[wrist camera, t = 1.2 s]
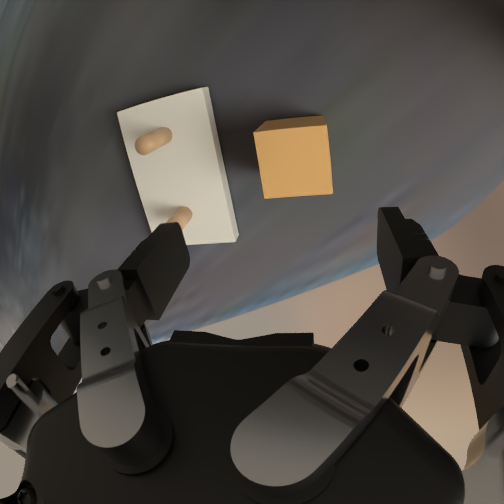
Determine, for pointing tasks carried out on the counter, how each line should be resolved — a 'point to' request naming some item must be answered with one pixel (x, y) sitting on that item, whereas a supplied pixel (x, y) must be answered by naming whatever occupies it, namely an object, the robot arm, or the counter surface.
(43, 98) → the counter surface
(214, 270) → the counter surface
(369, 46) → the counter surface
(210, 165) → the base
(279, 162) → the light orange block
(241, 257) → the counter surface
